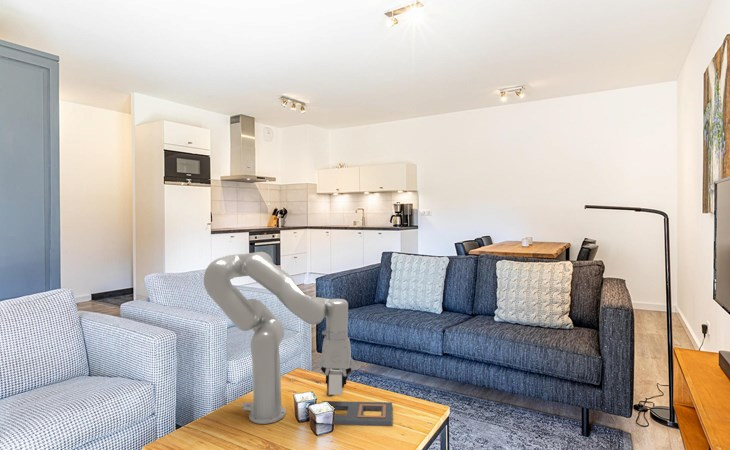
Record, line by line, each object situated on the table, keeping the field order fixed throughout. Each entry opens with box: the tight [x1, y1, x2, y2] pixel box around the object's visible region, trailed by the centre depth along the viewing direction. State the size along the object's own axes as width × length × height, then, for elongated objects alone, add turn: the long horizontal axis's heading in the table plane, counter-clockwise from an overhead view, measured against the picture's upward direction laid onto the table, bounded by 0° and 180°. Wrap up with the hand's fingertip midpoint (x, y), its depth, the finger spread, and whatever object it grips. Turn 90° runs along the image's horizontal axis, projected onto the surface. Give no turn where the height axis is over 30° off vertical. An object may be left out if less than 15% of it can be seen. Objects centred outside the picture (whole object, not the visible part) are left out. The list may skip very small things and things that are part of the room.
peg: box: [329, 369, 344, 396], centre depth 147 cm, size 4×4×7 cm
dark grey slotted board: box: [321, 400, 393, 427], centre depth 147 cm, size 26×14×2 cm, turn 86°
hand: (336, 385), depth 147 cm, fingers closed on peg, 4 cm apart
